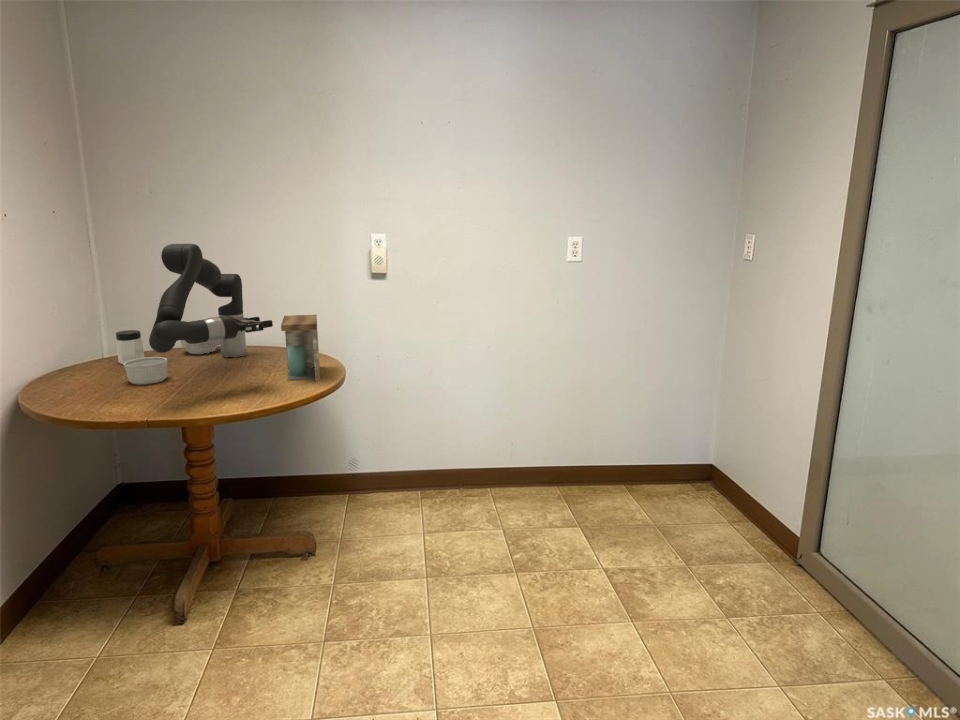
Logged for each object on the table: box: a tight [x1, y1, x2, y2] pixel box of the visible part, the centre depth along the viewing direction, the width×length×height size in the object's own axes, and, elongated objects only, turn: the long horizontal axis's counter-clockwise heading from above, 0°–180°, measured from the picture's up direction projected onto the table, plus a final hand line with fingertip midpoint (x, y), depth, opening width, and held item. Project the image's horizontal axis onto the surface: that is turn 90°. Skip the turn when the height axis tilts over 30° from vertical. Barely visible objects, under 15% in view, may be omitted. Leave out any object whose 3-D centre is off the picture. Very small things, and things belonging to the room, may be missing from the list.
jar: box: [115, 329, 146, 366], centre depth 227 cm, size 9×8×12 cm
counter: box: [280, 314, 321, 381], centre depth 211 cm, size 12×20×20 cm, turn 15°
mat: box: [286, 368, 315, 381], centre depth 212 cm, size 9×14×1 cm, turn 15°
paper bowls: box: [180, 340, 221, 355], centre depth 245 cm, size 15×15×8 cm
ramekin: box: [123, 356, 169, 386], centre depth 203 cm, size 13×13×7 cm
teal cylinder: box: [286, 345, 307, 376], centre depth 210 cm, size 6×6×10 cm
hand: (265, 321), depth 199 cm, fingers open, 8 cm apart
